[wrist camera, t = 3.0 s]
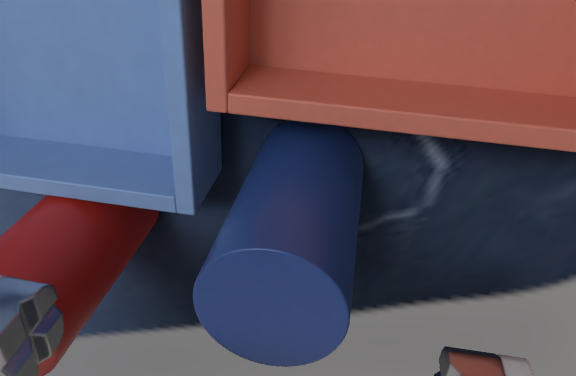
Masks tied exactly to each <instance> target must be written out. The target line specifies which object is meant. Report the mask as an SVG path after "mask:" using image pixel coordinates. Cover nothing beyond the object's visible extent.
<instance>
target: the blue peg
mask: <svg viewBox="0 0 576 376" xmlns="http://www.w3.org/2000/svg"><path fill="white" fill-rule="evenodd" d="M363 174H364V161H363V157H362V153H361V151H360V148H359V146H358V145H357V143H356V141H355V140H354V139H353V137H352V136H351V135H350V134H349V133H348V132H346V131H345V130H344V129H343V128H341V127H340V126H336V125H327V124H318V123H310V122H301V121H292V120H290V121H287V122H285V123H283V124H281V125H279V126H278V127H277V128H275V129H274V130H273V131H272V132H271V133H270V134H269V135H268V137H267V138H266V140H265V141H264V143H263V145H262V147H261V149H260V151H259V153H258V155H257V157H256V159H255V161H254V163H253V165H252V167H251V169H250V171H249V173H248V175H247V177H246V179H245V181H244V183H243V185H242V187H241V189H240V191H239V193H238V195H237V197H236V199H235V201H234V203H233V205H232V207H231V209H230V211H229V214H228V216H227V218H226V220H225V222H224V224H223V226H222V228H221V230H220V232H219V234H218V236H217V238H216V240H215V242H214V244H213V246H212V248H211V250H210V252H209V254H208V256H207V258H206V260H205V262H204V264H203V266H202V268H201V270H200V272H199V274H198V276H197V278H196V281H195V283H194V288H193V303H194V308H195V311H196V314H197V316H198V319H199V321H200V322H201V324H202V325H203V327H204V328H205V330H206V331H207V332H208V333H209V334H210V336H212V337H213V338H214V339H215V340H216V341H217V342H218V343H219V344H221V345H222V346H223V347H225V348H226V349H228V350H229V351H231V352H233V353H235V354H236V355H239V356H240V357H243V358H245V359H248V360H250V361H254V362H257V363H261V364H266V365H272V366H284V367H287V366H299V365H305V364H308V363H313V362H315V361H318V360H320V359H322V358H324V357H326V356H327V355H329V354H330V353H332V352H333V351H334V350H335V349H336V348H337V347H338V346H339V345H340V344H341V342H342V341H343V339H344V338H345V336H346V333H347V331H348V327H349V322H350V311H351V301H352V290H353V280H354V269H355V258H356V248H357V237H358V227H359V216H360V206H361V195H362V184H363Z"/></svg>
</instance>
